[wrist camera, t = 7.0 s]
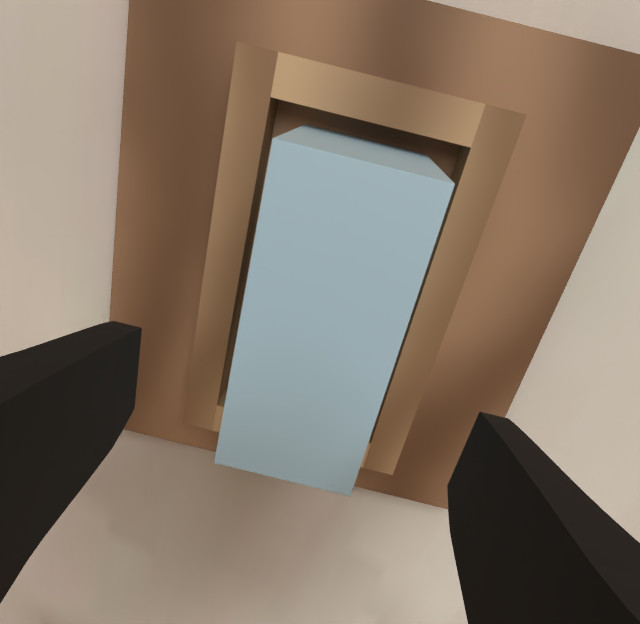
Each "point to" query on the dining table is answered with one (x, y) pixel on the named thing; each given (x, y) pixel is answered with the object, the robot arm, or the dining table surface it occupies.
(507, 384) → the cradle
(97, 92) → the dining table surface
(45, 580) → the dining table surface
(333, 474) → the tall light blue prism
